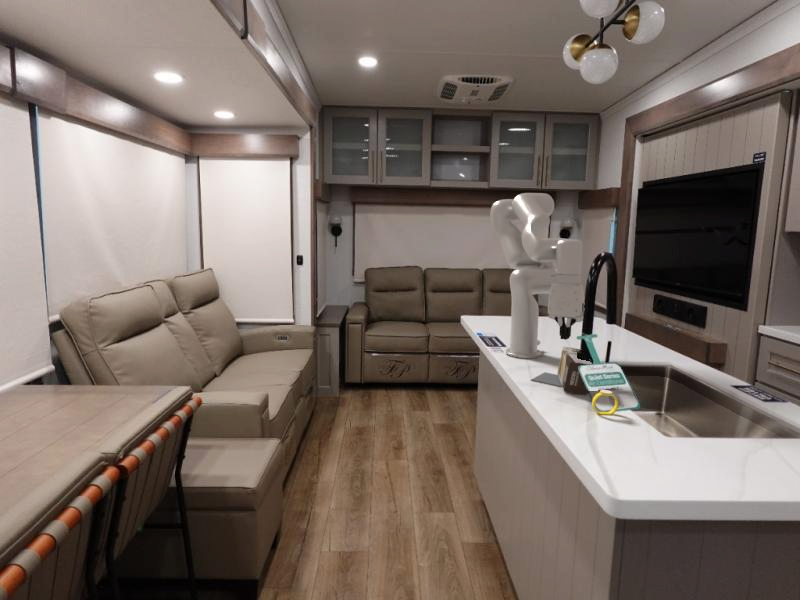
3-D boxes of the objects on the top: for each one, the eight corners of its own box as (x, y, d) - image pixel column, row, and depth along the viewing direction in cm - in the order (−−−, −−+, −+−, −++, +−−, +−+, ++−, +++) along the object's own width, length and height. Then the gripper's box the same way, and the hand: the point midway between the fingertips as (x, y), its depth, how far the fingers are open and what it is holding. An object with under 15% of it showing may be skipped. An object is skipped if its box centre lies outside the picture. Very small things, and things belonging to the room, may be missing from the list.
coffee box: (562, 346, 152) (570, 360, 136) (583, 349, 151) (594, 364, 135) (556, 374, 153) (563, 391, 138) (577, 378, 152) (587, 395, 137)
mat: (544, 373, 157) (544, 372, 157) (576, 379, 151) (576, 378, 151) (530, 380, 150) (530, 379, 150) (562, 387, 144) (562, 386, 143)
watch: (613, 413, 125) (617, 390, 124) (617, 417, 122) (621, 394, 121) (589, 411, 125) (592, 388, 124) (593, 415, 122) (596, 392, 121)
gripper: (539, 279, 153) (537, 337, 156) (588, 282, 144) (584, 344, 146) (549, 277, 159) (546, 333, 161) (596, 280, 149) (593, 340, 152)
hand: (564, 338), depth 154 cm, fingers closed
